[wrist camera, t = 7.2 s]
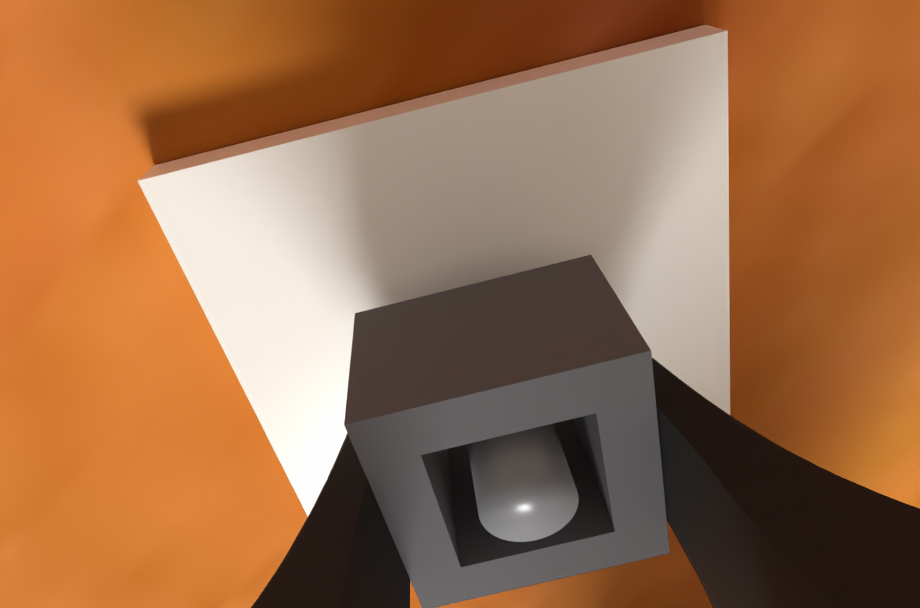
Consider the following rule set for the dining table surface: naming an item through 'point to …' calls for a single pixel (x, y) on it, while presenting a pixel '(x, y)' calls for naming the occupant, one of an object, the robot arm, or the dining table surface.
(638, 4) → the dining table surface
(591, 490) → the square frame block
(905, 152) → the dining table surface
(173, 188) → the peg base
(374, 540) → the robot arm
